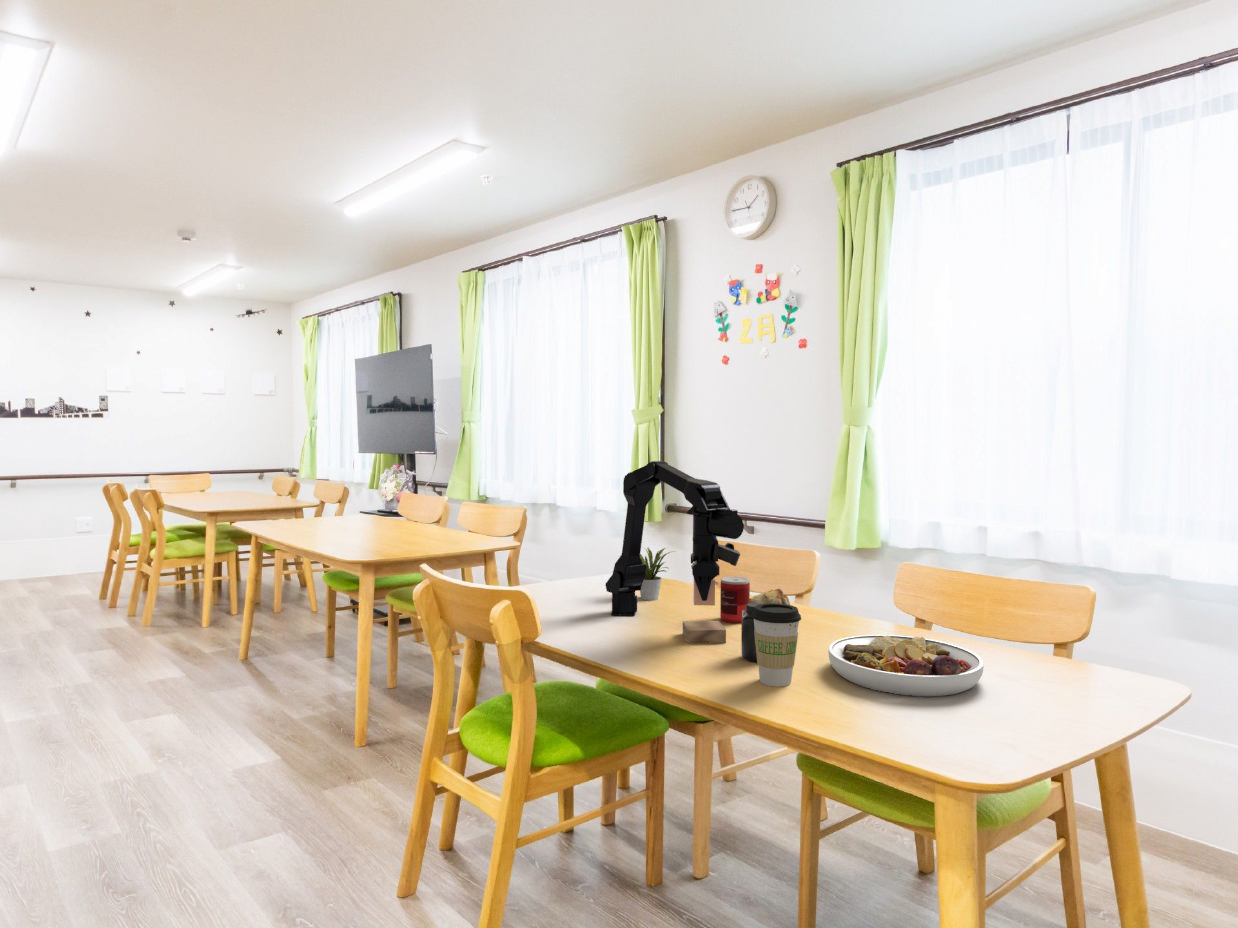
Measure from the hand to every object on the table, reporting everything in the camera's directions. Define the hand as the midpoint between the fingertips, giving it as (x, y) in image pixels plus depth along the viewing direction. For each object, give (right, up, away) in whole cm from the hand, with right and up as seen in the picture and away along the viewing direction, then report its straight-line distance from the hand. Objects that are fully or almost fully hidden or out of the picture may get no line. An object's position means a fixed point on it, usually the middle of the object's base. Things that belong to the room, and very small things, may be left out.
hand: (703, 598), depth 191 cm
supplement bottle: (+10, -11, -16) cm, 22 cm away
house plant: (-10, -8, +45) cm, 47 cm away
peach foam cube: (0, -1, 0) cm, 1 cm away
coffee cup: (+11, -12, -32) cm, 36 cm away
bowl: (+38, -12, -28) cm, 49 cm away
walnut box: (0, -10, 0) cm, 10 cm away
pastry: (+20, -9, +23) cm, 32 cm away
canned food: (+10, -9, +19) cm, 23 cm away
